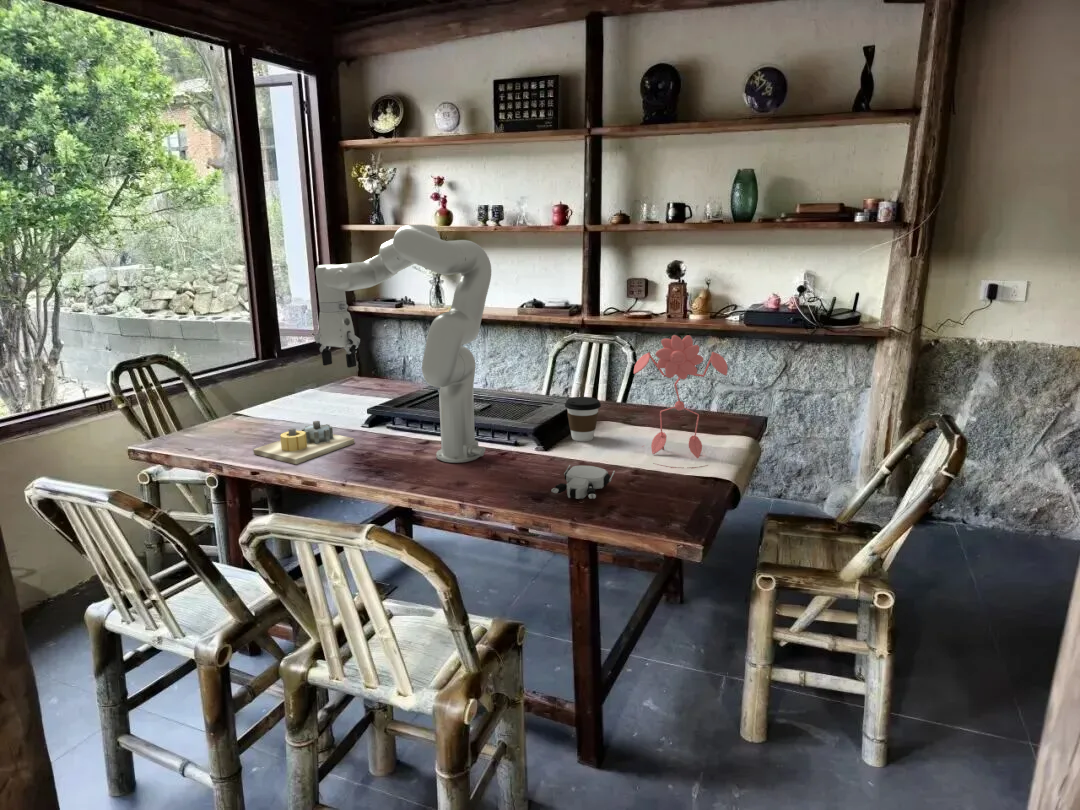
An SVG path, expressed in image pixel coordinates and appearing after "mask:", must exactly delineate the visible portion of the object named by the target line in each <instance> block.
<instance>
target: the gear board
mask: <svg viewBox="0 0 1080 810" xmlns="http://www.w3.org/2000/svg"><path fill="white" fill-rule="evenodd" d="M287 430H288V431H289V436H296V431H297V429H296V428H295V427H293V428H289V429H287ZM288 431H287V432H288ZM301 431H304V432H306V441H307V447H305V448H304V449H301V450H297V451H285V450H282V448H281V439H280V440H277V441H274V442H271V443H268V444H265V445H262V446H259V447H256V448H253V450H252V451H253V455H256V456H261V457H265V458H268V459H273V460H277V461H280V462H285V463H289V464H292V465H299V464H302V463H304V462H306V461H309V460H312V459H315V458H317V457H320V456H323V455H326V454H328V453H331V452H334V451H336V450H339V449H343V448H345V447H348V446H350V445H354V444H355V443H356V442H355V438H354V437H349V436H345V435H339V434H334V432H333V431H334V430H333V426H331V425H330V424H328V423H327V424H321V421H320V420H314V421H312V425H306V426H305V427H304V428H301Z"/></svg>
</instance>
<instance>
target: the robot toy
mask: <svg viewBox="0 0 1080 810" xmlns="http://www.w3.org/2000/svg"><path fill="white" fill-rule="evenodd" d="M615 472H616V471H615V470H613V471H612V474H611V475H610V474H609V471H608V470H607V469H605V468H602V467H597V466H593V465H574V466H571V464H569V465H568V466H567V468H566V470H565V472H564V473H563V476H564V480H566V483H557V484H556V485H555V487H553V488H551V493H554V494H562V493H564V492H566V494H567V498H568V499H571V498H572V499H576V500H577V499H578V500H580V499H585V498H586V497H587V498H589V499H593V500H594V499H596V498H597V494H596V493H597V492H596V490H598V489H603V488H604V487H605V486H607V485H609V483H611V482H612V478H613V477H614V474H615Z"/></svg>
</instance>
